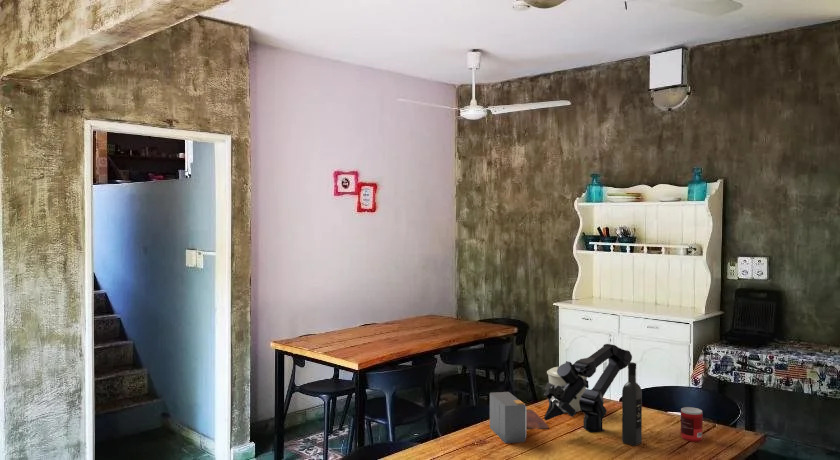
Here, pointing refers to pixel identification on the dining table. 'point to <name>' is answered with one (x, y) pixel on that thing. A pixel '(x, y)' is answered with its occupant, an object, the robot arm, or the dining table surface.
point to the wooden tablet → (534, 421)
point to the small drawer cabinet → (507, 417)
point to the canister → (556, 379)
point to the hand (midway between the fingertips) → (544, 419)
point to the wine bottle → (632, 409)
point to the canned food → (691, 424)
